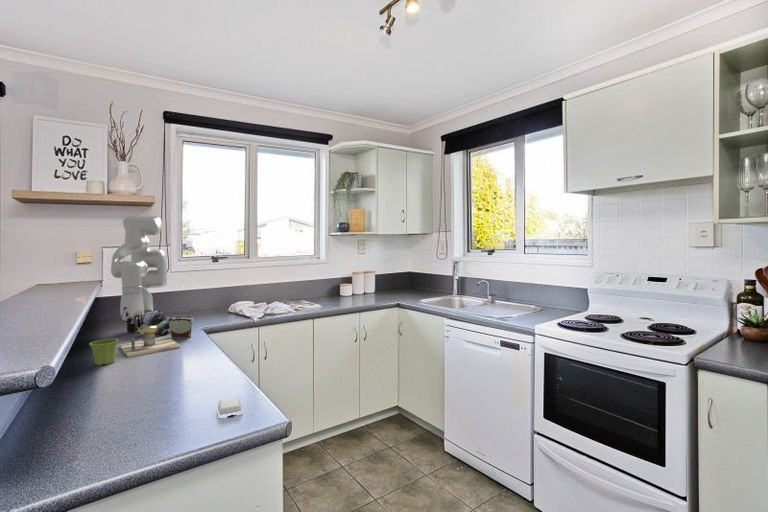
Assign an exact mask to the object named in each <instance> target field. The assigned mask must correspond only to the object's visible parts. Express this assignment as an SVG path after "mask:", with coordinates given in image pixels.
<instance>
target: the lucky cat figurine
mask: <svg viewBox="0 0 768 512" xmlns="http://www.w3.org/2000/svg"><path fill="white" fill-rule="evenodd" d="M169 317H170V316H168V317H166V315H165V314H164V313H163V312H161V310H159V309H156V310H155V311H154V310H153V311H152V310H148V312H147V313H146V314H144V316H143V317H141V321H140V322H141V327H144V326H151V325H155V326H157V331H156V332H155V337H160V336H161V335H163V334H165V333H166V332H168V330H170V326H169V322H168V318H169Z"/></svg>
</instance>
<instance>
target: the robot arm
mask: <svg viewBox="0 0 768 512" xmlns="http://www.w3.org/2000/svg"><path fill="white" fill-rule="evenodd" d="M122 224H123V228H124V231H125V233H124V243H123V244H121V245H120V246H119V247H118V248H117V249H116V250H115V251H114V252H113V255H112V257H111V264H110V265H111V267H110V272H111V273H110V274H111V275H112V276H113V278H115V279H121V295H120V296H121V297H120V305H119V306H120V309H119V310H120V317H121V320H122V321H124V322H125V324H126V332H127V333H140V331H136V332H135V323H134V317H138V327H141V322H140V321H141V317H143V316H144V314H146V313H147V312H148V310H152V311H154V299H153V295H152V293H151V292H150V291H149V290H148V289H157V288H159V289H160V288H164V287H166V286H167V281H168V271H167V269H168V268H167V257H166V254H165V251H164V250H162V249H151V246H150V243H151V242H150V240H149V238H148V237H147V236H158V235H159V234H160V233H161V231H162V228H163V222H162V219H161V218H160V217H159V216H143V215H142V216H140V215H138V216H137V215H136V216H127V217H125V218H124V219H123V220H122ZM128 256H131V261H130V260H126V261H123V259H124V258H125V257H128ZM149 268H152V269H150V270H149ZM153 268H155V269H153ZM130 318H131V319H130Z"/></svg>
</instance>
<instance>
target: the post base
mask: <svg viewBox="0 0 768 512" xmlns="http://www.w3.org/2000/svg"><path fill="white" fill-rule="evenodd" d="M142 335H143V340H140V341H135V337H133V338H130V339H131V340H130V342H128V343H122V344H121V343H120V344H119V348H120V350H121V349H122V350H121V351H122V352H123V354H124V355H125V354H126V355H125V356H126V357H127V358H131V357H137V356H142V355H148V354H154V353H158V352H159V351H160V352H163V351H164V352H165V351H171V350H176V349H175V348H177V349H181V345H180V344H179V343H178V342H177V341H175V340H174V339H173V338H171V336H170V337H169V336H166V337H160V338H156V336H155V332H152V333H144V334H142ZM170 349H171V350H170Z"/></svg>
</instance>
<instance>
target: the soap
mask: <svg viewBox="0 0 768 512" xmlns="http://www.w3.org/2000/svg"><path fill="white" fill-rule="evenodd" d="M240 400H241V399H239V397H237V396H234V397H227V398H224V399H223V398H221V399H219V401H218V403H217V406H218V411H219V414H220V415H223V414H228V413H233V412H238V411H241V405H242V403H241V401H240Z"/></svg>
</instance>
